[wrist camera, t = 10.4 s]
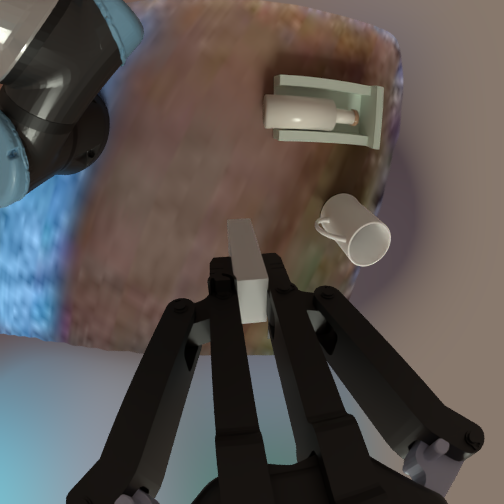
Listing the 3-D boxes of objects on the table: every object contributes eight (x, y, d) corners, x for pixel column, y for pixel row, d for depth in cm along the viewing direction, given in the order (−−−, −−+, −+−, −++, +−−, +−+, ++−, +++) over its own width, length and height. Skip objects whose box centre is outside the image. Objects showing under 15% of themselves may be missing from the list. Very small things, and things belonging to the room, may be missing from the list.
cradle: (273, 137, 42) (282, 143, 37) (273, 76, 37) (283, 72, 31) (360, 142, 44) (379, 149, 38) (363, 87, 38) (383, 87, 33)
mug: (299, 228, 51) (320, 263, 41) (311, 185, 47) (338, 212, 37) (351, 236, 54) (380, 269, 44) (365, 197, 50) (399, 225, 39)
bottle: (267, 133, 36) (358, 138, 38) (269, 98, 33) (365, 108, 34) (261, 122, 40) (345, 126, 42) (263, 91, 36) (350, 98, 38)
